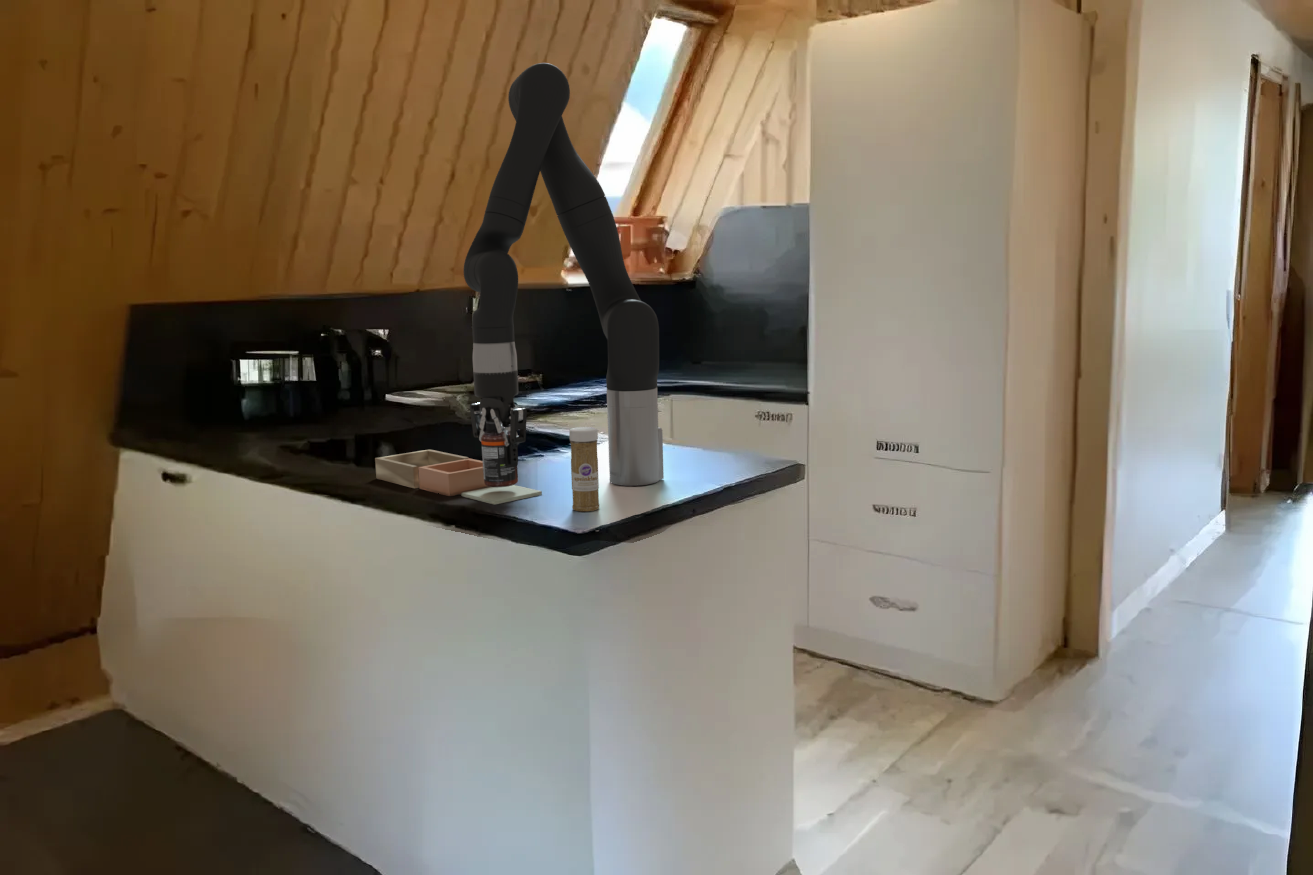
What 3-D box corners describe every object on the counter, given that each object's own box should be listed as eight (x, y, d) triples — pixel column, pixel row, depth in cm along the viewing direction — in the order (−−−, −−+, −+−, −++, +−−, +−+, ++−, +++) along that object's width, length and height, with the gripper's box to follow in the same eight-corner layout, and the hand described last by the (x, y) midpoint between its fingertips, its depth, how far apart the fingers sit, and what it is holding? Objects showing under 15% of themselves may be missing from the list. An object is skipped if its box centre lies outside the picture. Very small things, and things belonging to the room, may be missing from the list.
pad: (508, 486, 186) (508, 483, 186) (541, 494, 179) (541, 491, 179) (461, 496, 179) (461, 492, 179) (494, 504, 172) (494, 501, 172)
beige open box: (430, 468, 205) (429, 449, 204) (469, 477, 195) (468, 457, 194) (376, 478, 197) (375, 458, 196) (414, 488, 187) (412, 466, 186)
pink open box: (470, 479, 194) (469, 458, 193) (501, 486, 187) (500, 464, 186) (419, 488, 186) (418, 467, 186) (449, 496, 179) (448, 474, 178)
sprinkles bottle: (577, 513, 164) (574, 431, 162) (568, 507, 168) (565, 427, 166) (604, 510, 166) (601, 428, 164) (594, 504, 170) (591, 425, 168)
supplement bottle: (502, 479, 183) (499, 417, 181) (525, 483, 179) (522, 419, 177) (476, 485, 178) (473, 421, 176) (499, 489, 174) (496, 424, 173)
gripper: (538, 369, 173) (542, 466, 175) (489, 364, 183) (494, 456, 186) (501, 373, 168) (506, 473, 170) (453, 368, 178) (459, 463, 181)
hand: (500, 464), depth 178 cm, fingers closed on supplement bottle, 6 cm apart
